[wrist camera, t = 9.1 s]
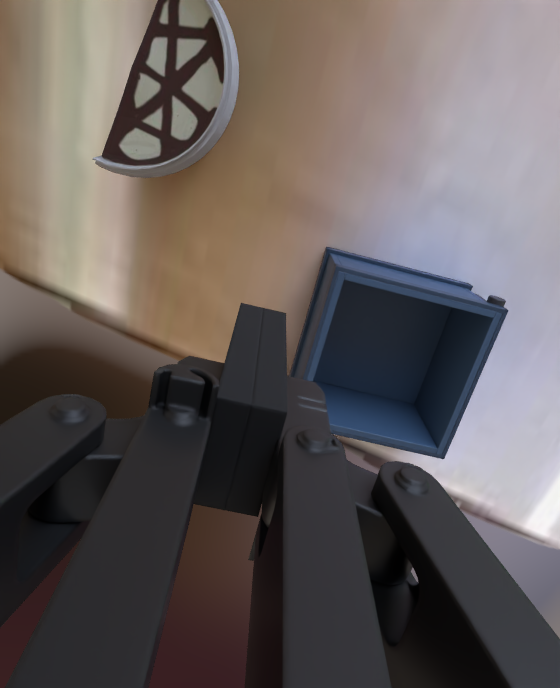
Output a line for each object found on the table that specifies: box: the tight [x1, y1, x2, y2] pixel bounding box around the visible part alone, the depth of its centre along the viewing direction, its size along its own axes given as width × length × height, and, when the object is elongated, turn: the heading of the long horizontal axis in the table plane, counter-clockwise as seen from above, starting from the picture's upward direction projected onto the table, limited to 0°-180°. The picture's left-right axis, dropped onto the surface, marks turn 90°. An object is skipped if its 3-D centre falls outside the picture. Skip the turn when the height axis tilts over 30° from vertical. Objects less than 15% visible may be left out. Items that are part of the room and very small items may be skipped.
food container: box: [93, 0, 239, 178], centre depth 33 cm, size 12×6×10 cm, turn 153°
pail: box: [289, 247, 508, 459], centre depth 40 cm, size 13×8×13 cm
